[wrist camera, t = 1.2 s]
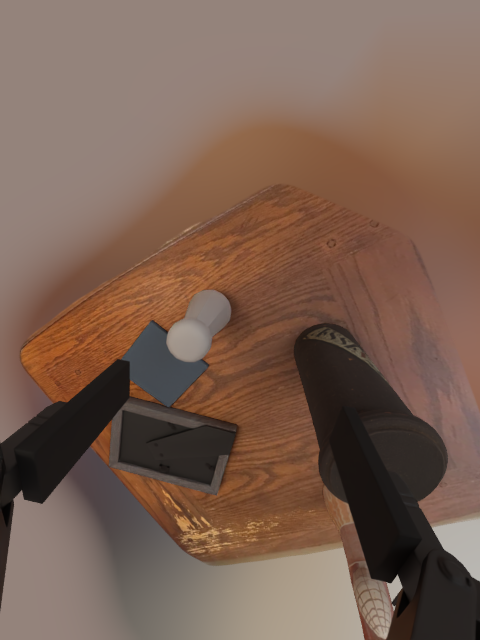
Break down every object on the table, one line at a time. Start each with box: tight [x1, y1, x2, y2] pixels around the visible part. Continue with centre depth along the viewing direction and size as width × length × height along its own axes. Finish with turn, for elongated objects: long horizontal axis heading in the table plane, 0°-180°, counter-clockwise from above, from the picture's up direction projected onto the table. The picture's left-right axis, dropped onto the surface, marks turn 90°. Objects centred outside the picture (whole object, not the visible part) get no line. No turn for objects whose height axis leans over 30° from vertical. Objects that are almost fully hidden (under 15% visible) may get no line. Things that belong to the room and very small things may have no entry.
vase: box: [323, 485, 394, 640], centre depth 31 cm, size 10×7×30 cm
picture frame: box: [109, 396, 237, 496], centre depth 44 cm, size 16×2×21 cm
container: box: [294, 324, 448, 504], centre depth 26 cm, size 9×9×20 cm
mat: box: [121, 320, 209, 408], centre depth 39 cm, size 11×11×1 cm
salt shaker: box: [166, 290, 231, 362], centre depth 29 cm, size 6×6×13 cm
